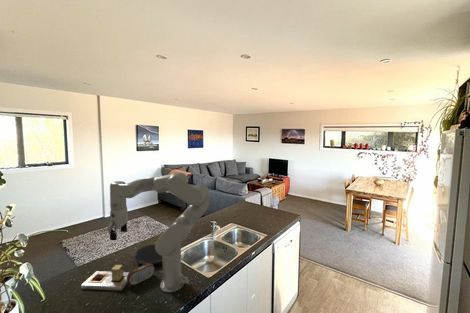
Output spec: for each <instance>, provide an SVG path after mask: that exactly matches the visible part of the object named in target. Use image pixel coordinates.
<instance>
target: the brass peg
mask: <svg viewBox="0 0 470 313" xmlns="http://www.w3.org/2000/svg"><path fill="white" fill-rule="evenodd" d="M111 272H112V282H118V283H120V282H121V281H122V280H123V278H124V277H123V272H124V265H123V264H115V265H114V266H113V267H112V268H111Z"/></svg>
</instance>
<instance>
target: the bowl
mask: <svg viewBox="0 0 470 313" xmlns="http://www.w3.org/2000/svg"><path fill="white" fill-rule="evenodd" d="M155 244H156V243H155ZM155 244H147V245H145V246H142V247H140V248H138V249H137V250H136V252H135V254H134V257H133V258H134V261H136V262H137V263H138V264H141V265H145V264H147V263H152V264H153V266H154V265H156V264H160V263H163V262H162V256H161V255H159V254H158V253H157V252H156V250H155Z"/></svg>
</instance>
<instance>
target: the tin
mask: <svg viewBox="0 0 470 313" xmlns="http://www.w3.org/2000/svg"><path fill="white" fill-rule="evenodd" d="M128 272H129V274H128V275H127V282H128V283H127V284H129V285H130V286H137V285H139V284H140V283H142V282H144V281H147V280H149V279H150V278H152V277H153V276H154V274H155V272H156V267H155V266H154V265H153V264H152V263H147V264H145V265H143V264H141V265H140V266H138V267H135V268H133V269H132V270H130V271H128Z"/></svg>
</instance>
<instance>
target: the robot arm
mask: <svg viewBox="0 0 470 313" xmlns="http://www.w3.org/2000/svg"><path fill="white" fill-rule="evenodd" d="M152 191H154V192H156V193H157V194H161V193H167V192H170V194H172V195H174V197H177V199H180V200H182V201H183V202H185V203H186V204H188V205H189V206H187V208H186V209H185V210H184V211H183V213H181V214H180V215H179V216H177V218H176V219H174V221H173V222H172V224H170V225H169V227H168V228H165V230H164V231H163V232H162V233H161V235H160V236H159V237H158V239H157V240H156V242H155V250H156V252H157V253H158V254H159V255H161V256H162V262H161V263H162V280H161V281H160V284H159V286H160V289H161V291H162V292H164V293H175V292H177V291H179V290H181V289H182V288H183V286H184V285H185V284H186V285H189V283H190V279H189V278H188V276H184V274H183V273H182V254H181V253H182V243H183V242H184V241H185V240H186V238H187V237H188V236H189V234H190V232H191V230H192V229H193V227H194V226H195V224H196V223H197V222H198V221H199V220H200V219H201V217H203V215H204V214H205V213H206V211H208V208H209V206H210V202H211V192H210V190H209V187H208V186H207V185H206V184H204V183H197V184H195V185H194V186H192V185H191V184H189V178H188V175H187V174H185V173H183V172H176V173H170V174H165V175H157V176H152V177H150V176H149V177H146V178H141V179H140V178H139V179H135V180H134V181H131V182H128V183H127V182H125V181H120V180H116V181H112V182H111V183H110V184H109V198H110V199H109V206H110V207H109V208H110V212H109V225H108V226H107V231H108V234H109V240H110V241H118V240H117V237H118V236H117V231H118V229H120V232H122V233H124V232H125V233H127V231H128V225H127V224H128V223H129V222H128V221H129V214H128V211H129V210H128V207H127V199H133V198H135V197H136V196H139V195H140V194H141V193H147V192H152Z"/></svg>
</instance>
